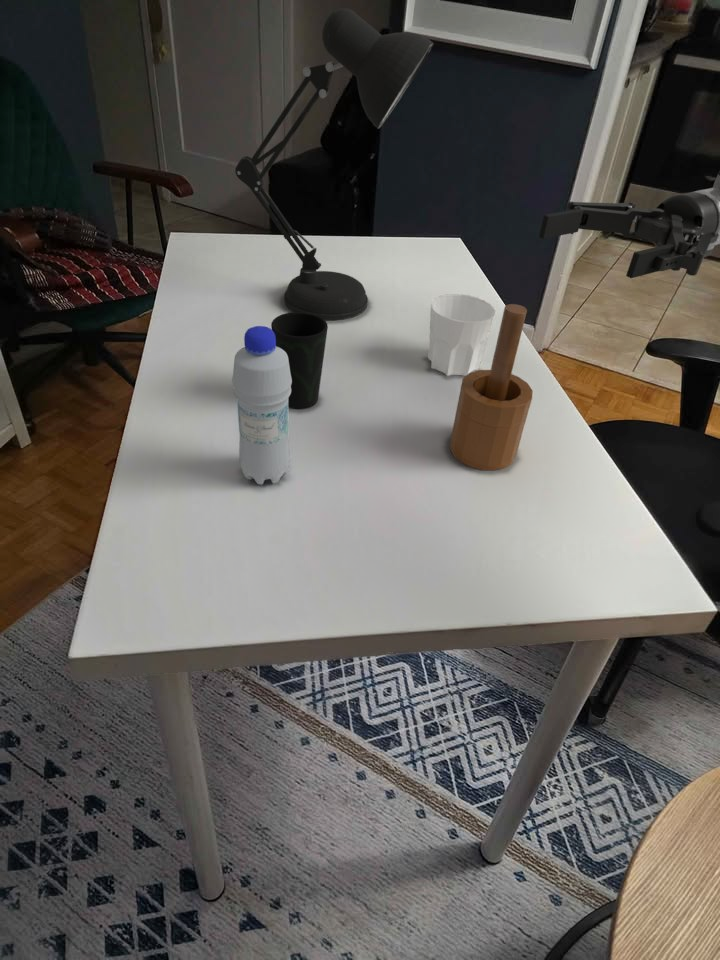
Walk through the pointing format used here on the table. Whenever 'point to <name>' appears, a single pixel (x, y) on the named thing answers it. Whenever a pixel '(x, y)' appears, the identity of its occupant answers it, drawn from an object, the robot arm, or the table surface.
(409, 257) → the table surface
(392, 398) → the table surface
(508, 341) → the wooden handled pestle
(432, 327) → the cup
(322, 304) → the desk lamp
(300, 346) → the cup
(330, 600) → the table surface
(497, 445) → the wooden hollow tube
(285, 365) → the bottle
